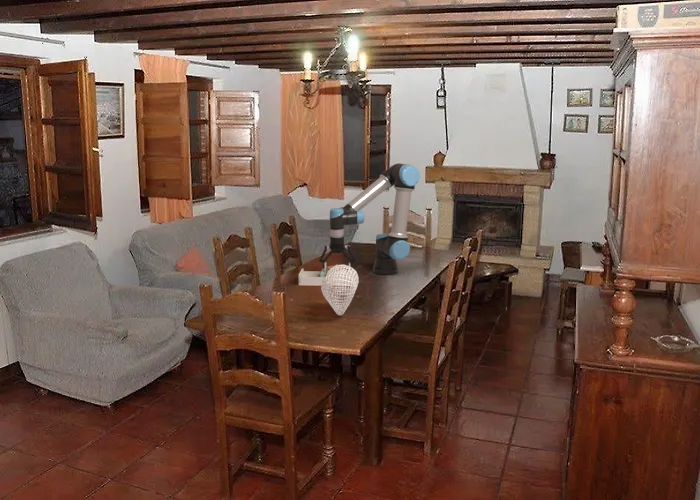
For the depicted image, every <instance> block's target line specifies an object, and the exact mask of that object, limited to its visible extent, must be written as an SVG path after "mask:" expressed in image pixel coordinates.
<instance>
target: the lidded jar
mask: <svg viewBox="0 0 700 500" xmlns="http://www.w3.org/2000/svg"><path fill="white" fill-rule="evenodd" d="M337 265H338V264H337V263H336V264H334V265H329V266H326V269H327V272H328V271H329V270H330V269H331V268H332V267H334V266H337ZM338 267H340V266H338ZM342 267H344V266H342ZM335 268H336V267H335ZM339 269H340V268H339ZM341 269H343V268H341ZM344 269H345V270H346V268H344ZM331 270H332V269H331ZM334 270H335V269H334ZM336 271H338V270H336ZM331 272H332V271H331ZM331 272H330V273H331ZM334 272H335V271H334ZM341 272H343V271H341ZM341 272H339V273H341ZM330 273H329V274H330ZM345 273H346V272H345ZM345 273H344V274H345ZM327 275H328V274H327ZM332 275H334V274H332ZM336 275H337V274H336ZM339 275H340V274H339ZM341 276H343V275H341ZM344 276H345V275H344ZM336 277H337V276H336ZM339 277H340V276H339Z"/></svg>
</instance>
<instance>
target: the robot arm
mask: <svg viewBox="0 0 700 500" xmlns="http://www.w3.org/2000/svg"><path fill="white" fill-rule="evenodd" d="M419 181H420V171H419V170H418V168H417V167H415V166H414V165H411V164H408V163H394V164H393V165H391V166H389V167H388V168H387V169H385V170H384V171H383V172H381V174H379V178H377V179H376V180H375V181H374V182H373V183H371V184H370V185H369V186H367V188H365V189H364V190H363V191H362V192H360V193H359V194H358V195H357V196H355V197H354V198H353V199H352V200H350V201H349V202H348V203H347V204H346V205H344V206H343V207H342V206H340V207H335V208H330V210H329V226H330V227H329V236H330V239H329V240H330V241H329V242H330V243H329V244H330V245H327V244H325V245H324V249H323V252H322V254H321V256H320V258H319V261H318V262H319V263H322V269H325V275H326V274H327V262H326V261H328V259H329V258H330V256H332V254H342V255H343V256H344V257H345V258H346V260H347V261H348V266H350V267H352V268H353V267H354V266H353V265H354V263H355V262H356V261H357V260H356V258H355V255H354V254H353V252H352V249H351V245H350V244H347V245H345V237H344V236H345V232H344V231H345V227H344V226H353V225H362V224H364V222H365V217H366V216H365V214H364V211H363V208H365V207H366V206H367V205H369V204H370V203H371V202H372V201H373V200H375V199H376V198H377V197H378V196H379V195H381V194H382V193H383V192H384V191H386V190H387V189H391V188H392V187H393V188H394V189H395V196H394V197H395V198H394V205H393V207H394V208H393V214H392V220H391V221H392V222H391V230H390V232H389V233H387V232H386V233H378V234H376V237H375V261H374V264H373V266H372V272H373V273H375V274H377V275H378V274H379V275H393V274H398V273H399V266H398V263H397V261H402V260H404V259H405V258H407V257H408V256H409V254H410V252H411V246H410V244H409V242H408V241H409V236H408V235H407V227H408V220H409V213H410V212H409V211H410V204H411V196H412V192H413V191H414V190H415V188H416V185H417V184H418V183H419ZM329 249H330V251H329V253H328V254H327V255H326V257H325V254H326V252H327V250H329ZM345 249H346V250H347V251H348V253H349V255H350V256H349V255H348V254H347V252H346V251H345ZM324 257H325V258H324ZM350 270H351V269H350ZM350 270H349V271H350ZM349 275H350V273H349Z"/></svg>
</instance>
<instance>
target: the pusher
mask: <svg viewBox="0 0 700 500" xmlns="http://www.w3.org/2000/svg"><path fill="white" fill-rule="evenodd" d="M318 277H326V275H325V269H323V268H322V269H321V273H320V275H318Z"/></svg>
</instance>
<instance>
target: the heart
mask: <svg viewBox="0 0 700 500" xmlns="http://www.w3.org/2000/svg"><path fill="white" fill-rule="evenodd" d="M338 266H340V267H338ZM342 266H344V267H342ZM335 267H336V268H335ZM339 268H340V269H339ZM341 268H343V269H341ZM344 268H346V270H345V269H344ZM331 269H332V270H331ZM331 269H330V270H329V271H328V272H327V274H328V275H327V274H326V277H324V279H325V280H324V279H323V281H322V284H321V288H320V290H321V293H322V295H323V297H324V298H325V300H326V301H327V302H328V304H329V305H330V307H331V308H332V310H333V312H335V313H336V315H337V316H343V315H344V313H346V311H347V309H348V308H349V306H350V305H351V302H352V301H353V298H354V296H355V293H356V290H357V288H358V286H359V275H358V272H357V270H356V269H354V268H353V267H350V266H349V265H347V264H337V266H334V267H332V268H331ZM334 269H335V270H334ZM350 269H351V270H350ZM336 270H338V271H336ZM349 270H350V271H349ZM331 271H332V272H331ZM334 271H335V272H334ZM341 271H343V272H341ZM330 272H331V273H330ZM339 272H341V273H339ZM345 272H346V273H345ZM348 272H349V273H350V275H349V273H348ZM329 273H330V274H329ZM344 273H345V274H344ZM352 273H353V274H352ZM332 274H334V275H332ZM336 274H337V275H336ZM339 274H340V275H339ZM341 275H343V276H341ZM344 275H346V276H344ZM352 275H353V276H352ZM336 276H337V277H338V279H336ZM339 276H340V277H343V279H339ZM347 276H349V277H347ZM354 276H355V277H354ZM332 277H333V279H332ZM344 277H346V279H344ZM329 278H330V279H329ZM334 278H335V279H334ZM347 278H349V279H347ZM350 278H351V279H350ZM335 280H336V284H334V281H335ZM337 280H338V283H337ZM340 280H342V283H340ZM349 280H350V281H351V282H350V281H349ZM330 281H333V284H332V283H331V284H330ZM344 281H345V283H344ZM352 281H353V282H354V283H352ZM347 282H348V283H347ZM349 282H350V284H349ZM346 284H348V285H346ZM332 285H333V286H332ZM334 285H336V286H334ZM337 285H338V286H337ZM340 285H342V286H340ZM344 285H345V286H344Z"/></svg>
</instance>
